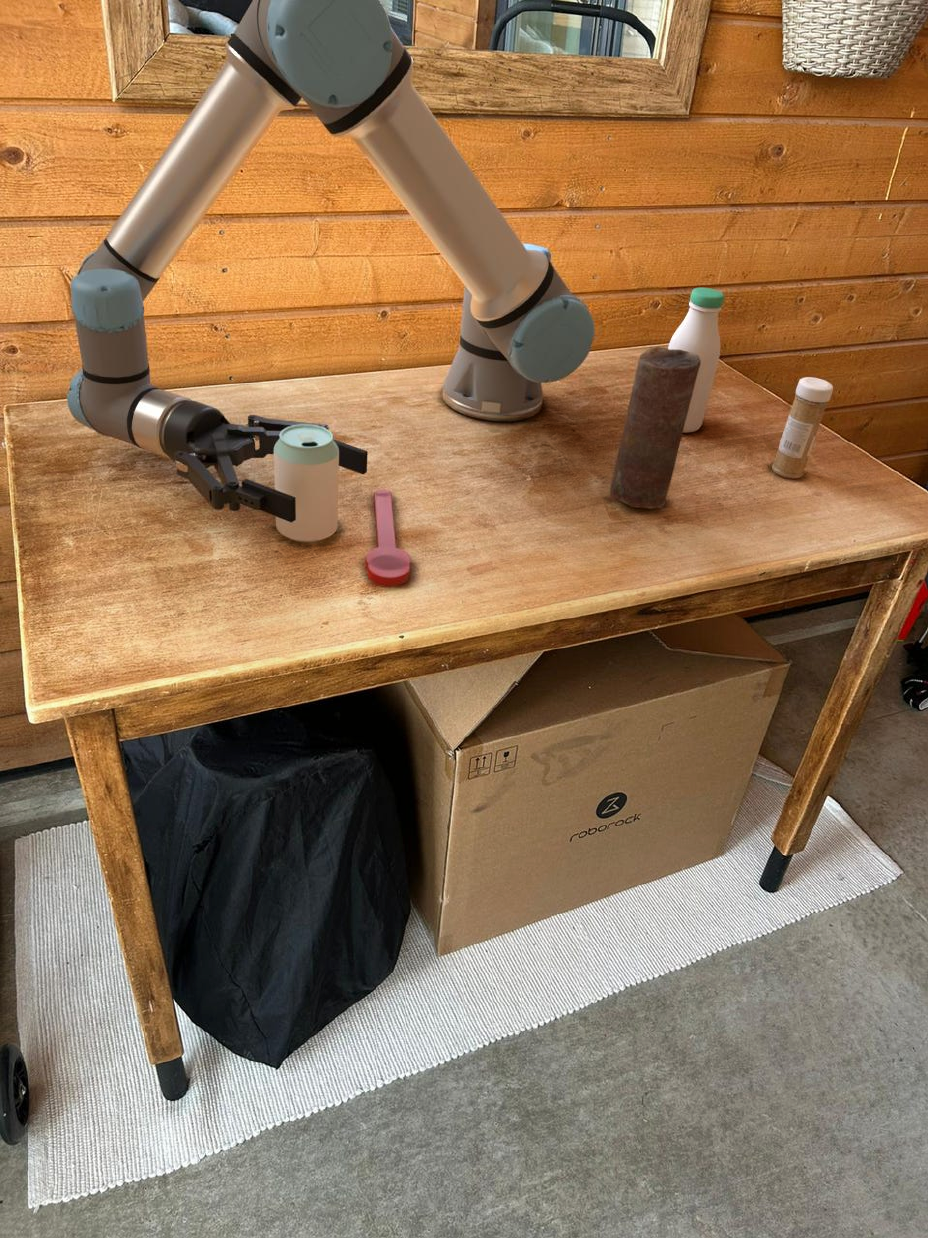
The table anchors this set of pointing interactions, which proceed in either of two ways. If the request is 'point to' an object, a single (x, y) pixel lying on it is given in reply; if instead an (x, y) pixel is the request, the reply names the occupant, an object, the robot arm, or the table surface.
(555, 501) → the table surface
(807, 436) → the spice jar
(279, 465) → the can
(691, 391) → the candle
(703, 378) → the milk bottle
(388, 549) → the spoon
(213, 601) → the table surface
